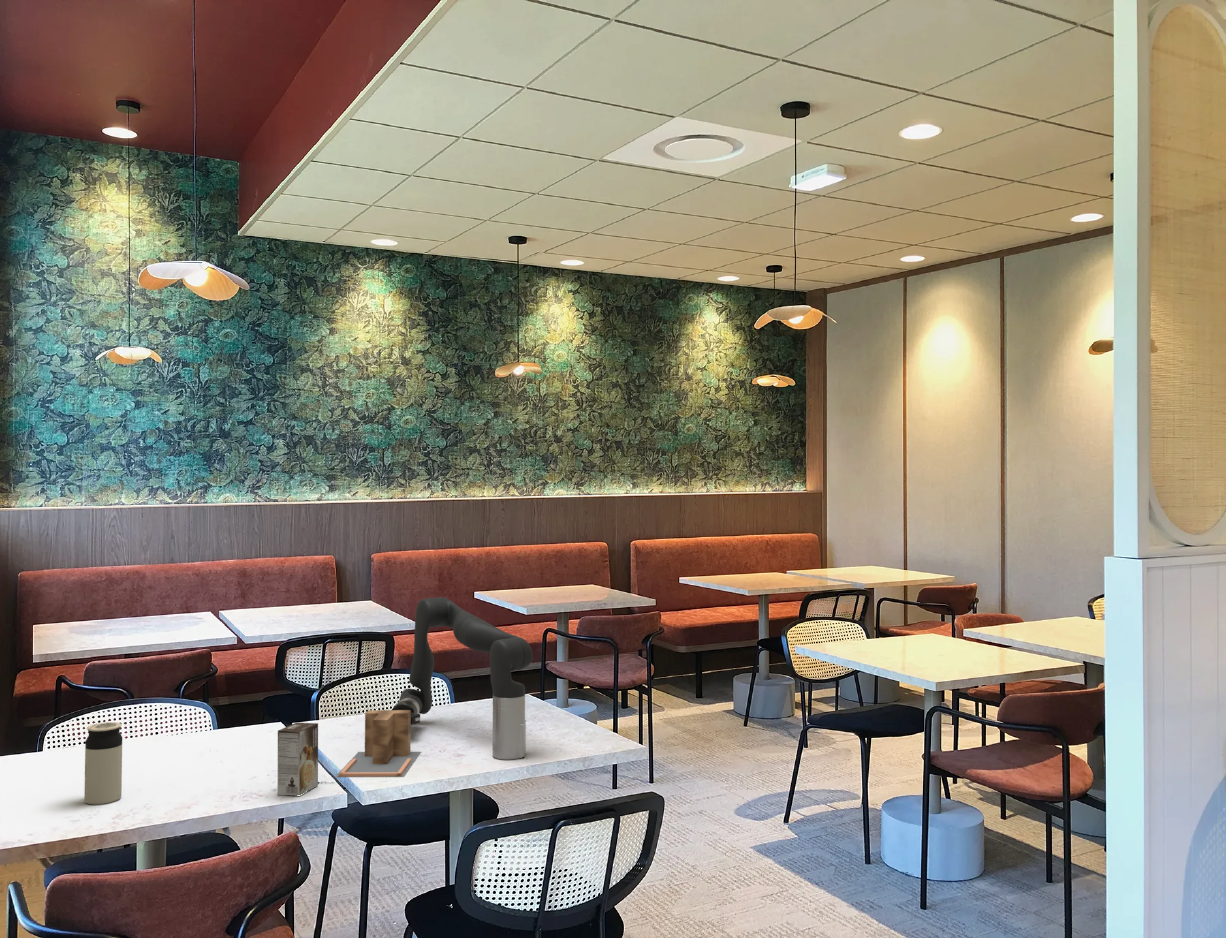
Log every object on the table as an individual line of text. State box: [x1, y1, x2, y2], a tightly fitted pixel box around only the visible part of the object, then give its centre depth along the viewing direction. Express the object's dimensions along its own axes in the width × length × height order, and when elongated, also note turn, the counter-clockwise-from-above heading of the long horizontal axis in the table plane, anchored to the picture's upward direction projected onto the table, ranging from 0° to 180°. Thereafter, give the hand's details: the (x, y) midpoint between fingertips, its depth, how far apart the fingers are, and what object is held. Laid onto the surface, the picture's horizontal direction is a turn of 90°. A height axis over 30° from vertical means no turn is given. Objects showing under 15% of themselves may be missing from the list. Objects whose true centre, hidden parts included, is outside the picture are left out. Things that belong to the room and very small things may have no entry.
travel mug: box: [83, 721, 123, 806], centre depth 234 cm, size 8×8×18 cm
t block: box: [364, 709, 412, 764], centre depth 268 cm, size 12×12×12 cm
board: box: [334, 751, 422, 778], centre depth 262 cm, size 18×25×2 cm
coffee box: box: [276, 722, 319, 796], centre depth 242 cm, size 9×6×16 cm
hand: (393, 725), depth 279 cm, fingers closed
